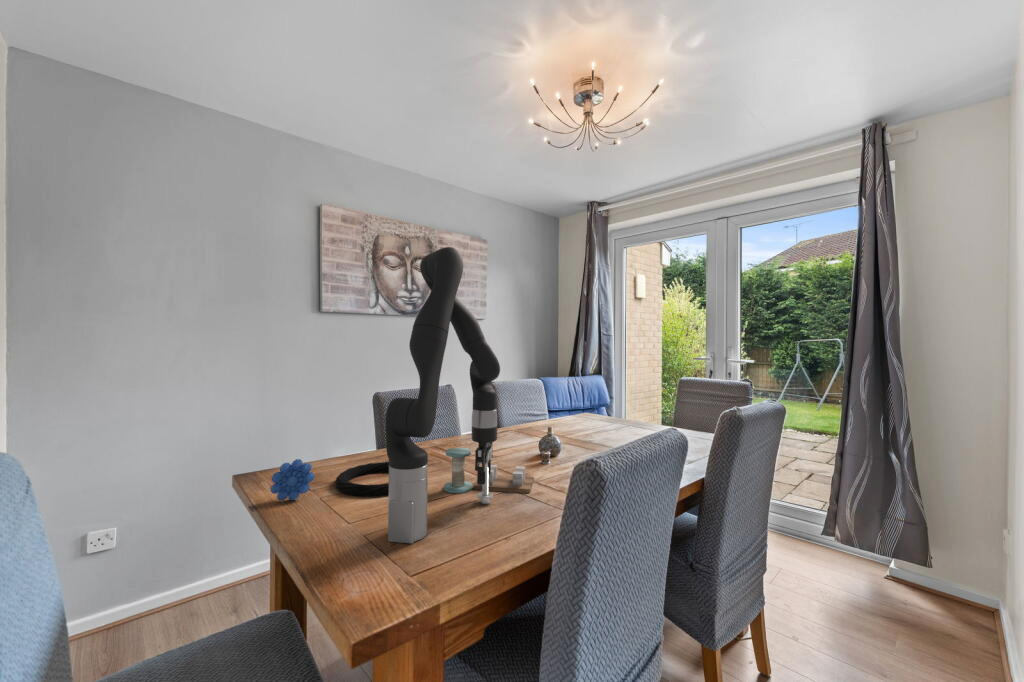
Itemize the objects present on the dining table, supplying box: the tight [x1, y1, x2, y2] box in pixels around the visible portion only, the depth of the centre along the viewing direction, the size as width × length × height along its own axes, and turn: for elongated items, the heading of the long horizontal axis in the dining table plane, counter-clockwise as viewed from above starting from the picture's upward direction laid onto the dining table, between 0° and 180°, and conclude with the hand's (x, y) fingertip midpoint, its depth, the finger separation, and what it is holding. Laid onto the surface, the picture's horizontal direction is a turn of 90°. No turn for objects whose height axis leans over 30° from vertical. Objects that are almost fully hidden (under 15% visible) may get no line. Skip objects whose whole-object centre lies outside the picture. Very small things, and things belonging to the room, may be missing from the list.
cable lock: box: [334, 461, 389, 498], centre depth 147 cm, size 28×4×30 cm
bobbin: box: [443, 447, 473, 494], centre depth 141 cm, size 9×9×12 cm
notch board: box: [472, 464, 535, 494], centre depth 144 cm, size 12×18×5 cm, turn 81°
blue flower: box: [270, 458, 315, 501], centre depth 130 cm, size 12×7×12 cm, turn 108°
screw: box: [476, 464, 494, 505], centre depth 129 cm, size 13×5×5 cm
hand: (484, 479), depth 130 cm, fingers open, 8 cm apart
